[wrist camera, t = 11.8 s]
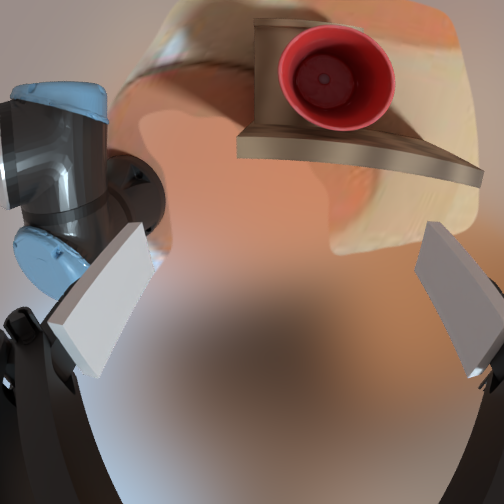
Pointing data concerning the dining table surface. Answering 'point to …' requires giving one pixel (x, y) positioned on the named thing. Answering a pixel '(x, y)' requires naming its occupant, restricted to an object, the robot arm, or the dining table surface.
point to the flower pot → (336, 77)
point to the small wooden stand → (266, 65)
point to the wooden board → (355, 151)
